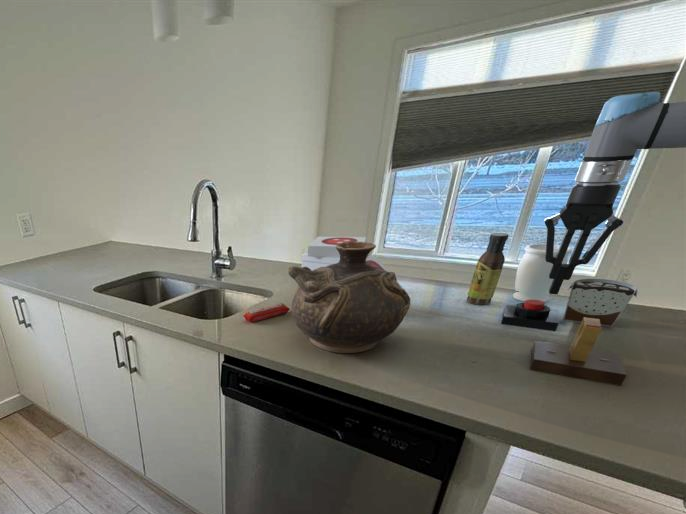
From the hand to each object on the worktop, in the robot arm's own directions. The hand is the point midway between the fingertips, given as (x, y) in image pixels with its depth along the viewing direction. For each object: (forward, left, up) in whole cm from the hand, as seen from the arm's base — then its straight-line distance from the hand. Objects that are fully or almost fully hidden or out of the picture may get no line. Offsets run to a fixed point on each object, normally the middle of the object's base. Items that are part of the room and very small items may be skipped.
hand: (553, 292), depth 97 cm
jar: (+2, -27, -11) cm, 29 cm away
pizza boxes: (+49, -6, -11) cm, 51 cm away
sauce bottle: (+14, -18, -11) cm, 25 cm away
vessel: (+40, +26, -11) cm, 49 cm away
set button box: (+2, -7, -10) cm, 13 cm away
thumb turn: (-6, +18, -8) cm, 20 cm away
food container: (-10, -14, -11) cm, 20 cm away
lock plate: (-6, +18, -10) cm, 21 cm away
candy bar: (+65, +19, -11) cm, 69 cm away
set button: (+2, -7, -7) cm, 10 cm away
